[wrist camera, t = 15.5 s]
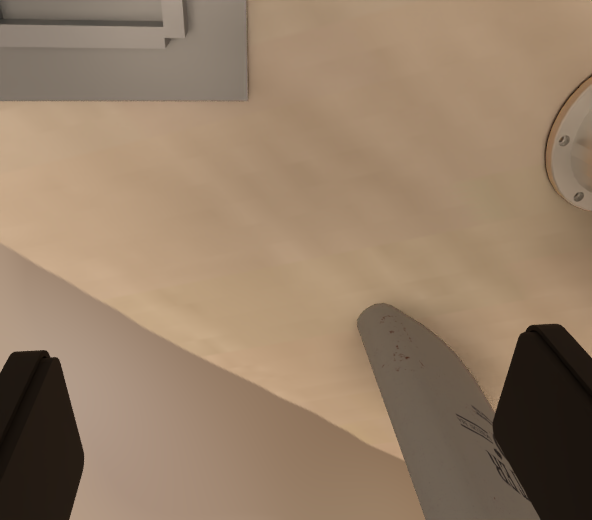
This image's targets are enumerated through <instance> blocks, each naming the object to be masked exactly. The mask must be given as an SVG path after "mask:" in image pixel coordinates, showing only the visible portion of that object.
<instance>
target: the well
mask: <svg viewBox="0 0 592 520" xmlns="http://www.w3.org/2000/svg"><path fill="white" fill-rule="evenodd" d="M0 101H248V70H247V17H246V0H0Z"/></svg>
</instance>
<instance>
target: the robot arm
mask: <svg viewBox="0 0 592 520" xmlns="http://www.w3.org/2000/svg"><path fill="white" fill-rule="evenodd" d="M546 169H547V173H548V176H549V180H550V182H551V184H552V185H553V187H554V189H555V191H556V192H557V193H558V194H559V195H560V196H561V197H562V198H563V199H565V200H566V201H568V202H569V203H570V204H572V205H573V206H576V207H578V208H580V209H583V210H586V211H592V77H590V78H589V79H588V80H587V81H585V82H584V83H583V84H582V85H581V86H580V87H579V88H578V89H577V90H576V91H575V92H574V93H573V94H572V96H571V97H570V98H569V99H568V101H567V102H566V104H565V105H564V106H563V108H562V109H561V111H560V112H559V114H558V116H557V118H556V120H555V122H554V124H553V126H552V129H551V132H550V136H549V139H548V142H547V149H546ZM493 433H494V437H495V439H496V441H497V443H498V444H499V446H500V448H501V450H502V452H503V453H504V455H505V457H506V459H507V460H508V462H509V464H510V466H511V468H512V469H513V471H514V473H515V475H516V477H517V478H518V480H519V482H520V484H521V486H522V487H523V489H524V491H525V493H526V495H527V496H528V498H529V500H530V502H531V503H532V505H533V507H534V509H535V511H536V512H537V514H538V516H539V518H540V520H592V358H591V357H590V356H589V355H588V354H587V352H586V351H585V350H584V349H583V348H582V347H581V346H580V345H579V344H578V343H577V341H576V340H575V339H574V338H573V337H572V336H571V335H570V334H569V333H568V332H567V330H566V329H565V328H564V327H562V326H561V325H559V324H543V325H531V326H529V327H528V328H527V330H526V332H524V333H521V334H520V336H519V338H518V341H517V344H516V348H515V351H514V354H513V357H512V361H511V364H510V367H509V370H508V374H507V377H506V380H505V383H504V387H503V390H502V393H501V396H500V400H499V403H498V406H497V409H496V413H495V416H494V419H493ZM83 466H84V452H83V448H82V444H81V440H80V436H79V432H78V429H77V425H76V421H75V417H74V413H73V409H72V406H71V402H70V398H69V394H68V390H67V387H66V383H65V379H64V376H63V371H62V368H61V364H60V361H59V359H58V358H56V357H53V358H50V356H49V353H48V352H47V351H45V350H40V351H23V352H22V351H21V352H13V353H12V354H11V355H10V356H9V358H8V360H7V362H6V363H5V365H4V367H3V369H2V371H1V373H0V520H69V518H70V515H71V511H72V508H73V504H74V500H75V497H76V493H77V489H78V486H79V483H80V479H81V475H82V471H83Z"/></svg>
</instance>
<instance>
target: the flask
mask: <svg viewBox="0 0 592 520" xmlns="http://www.w3.org/2000/svg"><path fill="white" fill-rule="evenodd" d="M357 327H358V330H359V333H360V336H361V338H362V341H363V344H364V347H365V350H366V352H367V355H368V358H369V361H370V364H371V367H372V369H373V372H374V375H375V378H376V381H377V383H378V386H379V389H380V392H381V395H382V398H383V400H384V403H385V406H386V409H387V412H388V415H389V417H390V420H391V423H392V426H393V429H394V431H395V434H396V437H397V440H398V443H399V446H400V448H401V451H402V454H403V457H404V460H405V462H406V465H407V468H408V471H409V473H410V476H411V479H412V482H413V485H414V488H415V491H416V493H417V496H418V499H419V502H420V505H421V507H422V510H423V513H424V516H425V519H426V520H540V518H539V516H538V514H537V512H536V511H535V509H534V507H533V505H532V503H531V502H530V500H529V498H528V496H527V495H526V493H525V491H524V489H523V487H522V486H521V484H520V482H519V480H518V478H517V477H516V475H515V473H514V471H513V469H512V468H511V466H510V464H509V462H508V460H507V459H506V457H505V455H504V453H503V452H502V450H501V448H500V446H499V444H498V443H497V441H496V439H495V437H494V433H493V419H494V416H495V412H494V411H493V409H492V407H491V405H490V404H489V402H488V400H487V399H486V397H485V395H484V394H483V392H482V390H481V388H480V387H479V385H478V383H477V382H476V380H475V379H474V377H473V376H472V375H471V373H470V372H469V371H468V369H467V368H466V367H465V365H464V364H463V363H462V361H461V360H460V359H459V357H458V356H457V355H456V354H455V353H454V352H453V351H452V350H451V349H450V348H449V347H448V346H447V345H446V344H445V343H444V342H443V341H442V340H441V339H440V338H439V337H437V336H436V335H435V334H433V333H432V332H431V331H430V330H428V329H427V328H426V327H425V326H423V325H422V324H420V323H419V322H417V321H415V320H414V319H412V318H411V317H409V316H407V315H406V314H404V313H403V312H401V311H399V310H398V309H396V308H394V307H393V306H391V305H388V304H385V303H382V304H374V305H373V306H371V307H369V308H367V309H366V310H365V311H363V312H362V314H361V315H360V316H359V318H358V319H357Z"/></svg>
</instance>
